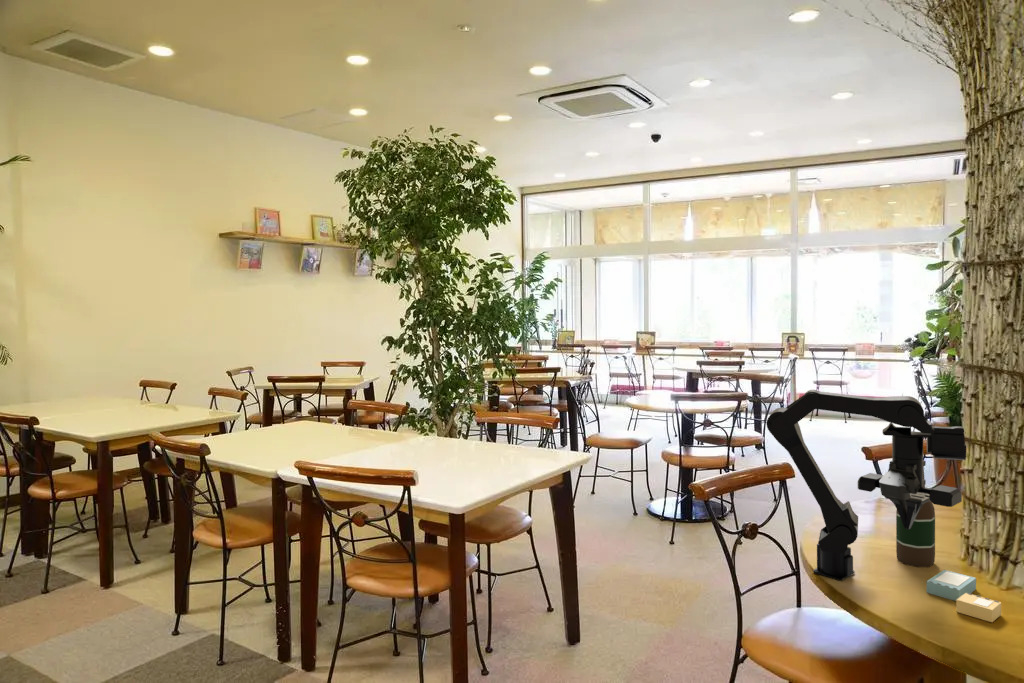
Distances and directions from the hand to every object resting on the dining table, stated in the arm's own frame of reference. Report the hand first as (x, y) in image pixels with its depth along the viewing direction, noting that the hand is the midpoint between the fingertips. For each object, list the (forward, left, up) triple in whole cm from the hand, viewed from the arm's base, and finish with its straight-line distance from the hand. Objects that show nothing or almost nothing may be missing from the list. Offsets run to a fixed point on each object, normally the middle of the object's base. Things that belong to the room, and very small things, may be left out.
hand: (907, 528), depth 147 cm
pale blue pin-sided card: (+7, +3, -12) cm, 14 cm away
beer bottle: (-4, +14, -12) cm, 19 cm away
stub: (+15, -5, -12) cm, 20 cm away
